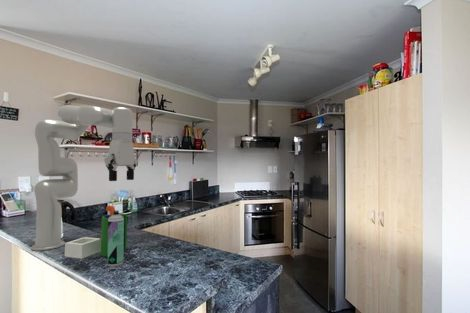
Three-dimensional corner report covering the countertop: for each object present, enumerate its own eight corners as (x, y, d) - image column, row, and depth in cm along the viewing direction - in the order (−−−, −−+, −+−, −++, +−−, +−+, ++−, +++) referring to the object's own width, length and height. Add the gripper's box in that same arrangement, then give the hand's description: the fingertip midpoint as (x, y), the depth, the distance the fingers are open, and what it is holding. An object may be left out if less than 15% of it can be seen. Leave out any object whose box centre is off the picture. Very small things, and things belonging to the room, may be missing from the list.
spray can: (116, 260, 97) (116, 209, 98) (126, 262, 95) (127, 210, 96) (104, 265, 92) (104, 211, 93) (114, 267, 90) (115, 212, 91)
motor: (113, 257, 100) (114, 208, 101) (95, 255, 102) (95, 207, 103) (129, 249, 110) (129, 204, 111) (111, 248, 112) (112, 204, 113)
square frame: (64, 256, 102) (64, 243, 102) (84, 249, 111) (84, 237, 111) (81, 258, 99) (82, 244, 99) (100, 251, 108) (101, 238, 108)
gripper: (129, 141, 109) (128, 179, 108) (97, 136, 93) (97, 181, 92) (143, 140, 107) (143, 179, 106) (113, 135, 90) (113, 181, 90)
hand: (121, 180), depth 99 cm, fingers open, 9 cm apart
